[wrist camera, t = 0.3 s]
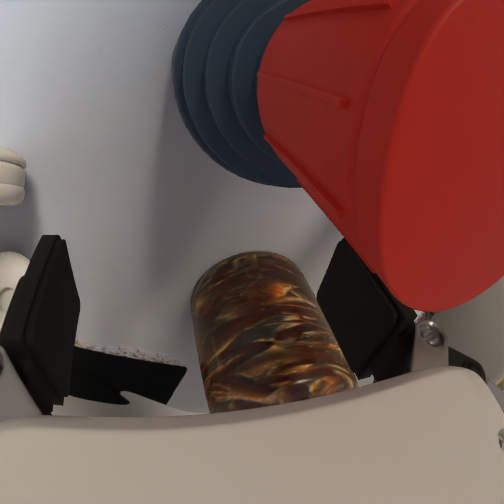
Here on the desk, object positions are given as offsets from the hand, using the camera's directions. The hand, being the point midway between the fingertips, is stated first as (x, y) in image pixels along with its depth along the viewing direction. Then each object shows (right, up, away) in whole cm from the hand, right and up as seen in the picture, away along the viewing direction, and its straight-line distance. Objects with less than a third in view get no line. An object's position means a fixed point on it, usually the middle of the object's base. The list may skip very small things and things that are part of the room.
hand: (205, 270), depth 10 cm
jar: (+1, -4, +20) cm, 21 cm away
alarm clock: (+38, -6, +34) cm, 51 cm away
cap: (+3, +3, -5) cm, 7 cm away
